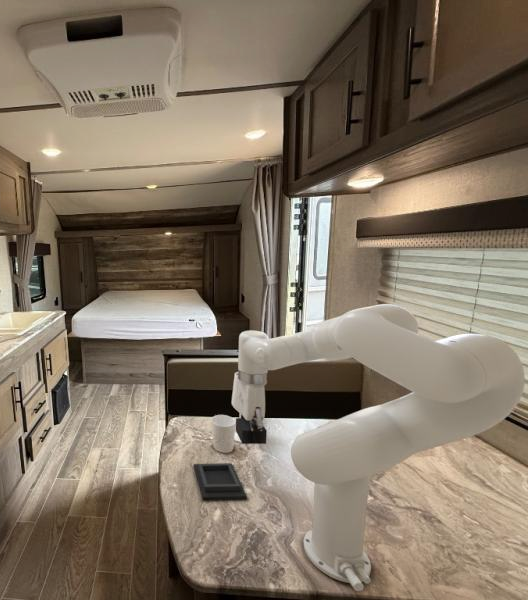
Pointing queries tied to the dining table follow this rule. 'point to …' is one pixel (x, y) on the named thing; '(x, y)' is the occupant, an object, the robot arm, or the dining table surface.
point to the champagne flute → (234, 401)
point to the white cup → (223, 433)
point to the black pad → (243, 431)
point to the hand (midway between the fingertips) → (250, 434)
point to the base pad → (218, 482)
